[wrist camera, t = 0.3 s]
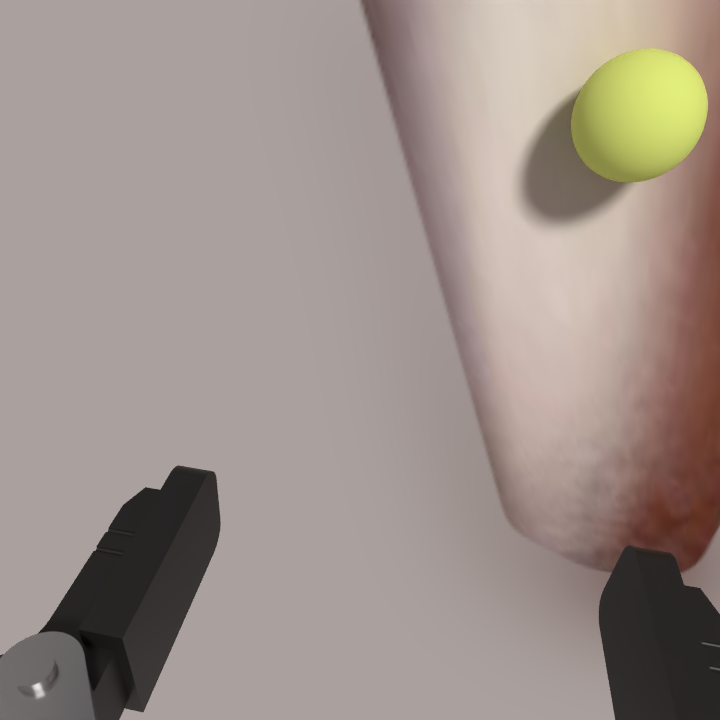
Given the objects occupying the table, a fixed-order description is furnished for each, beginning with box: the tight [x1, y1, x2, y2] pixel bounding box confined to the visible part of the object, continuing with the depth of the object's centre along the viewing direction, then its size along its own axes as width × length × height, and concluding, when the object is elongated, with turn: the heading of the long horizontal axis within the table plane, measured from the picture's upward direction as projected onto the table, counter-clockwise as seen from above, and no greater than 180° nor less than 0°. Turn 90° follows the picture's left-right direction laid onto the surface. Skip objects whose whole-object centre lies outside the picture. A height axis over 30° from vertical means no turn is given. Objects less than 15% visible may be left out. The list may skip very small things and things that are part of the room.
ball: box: [571, 49, 708, 182], centre depth 29 cm, size 6×6×6 cm
